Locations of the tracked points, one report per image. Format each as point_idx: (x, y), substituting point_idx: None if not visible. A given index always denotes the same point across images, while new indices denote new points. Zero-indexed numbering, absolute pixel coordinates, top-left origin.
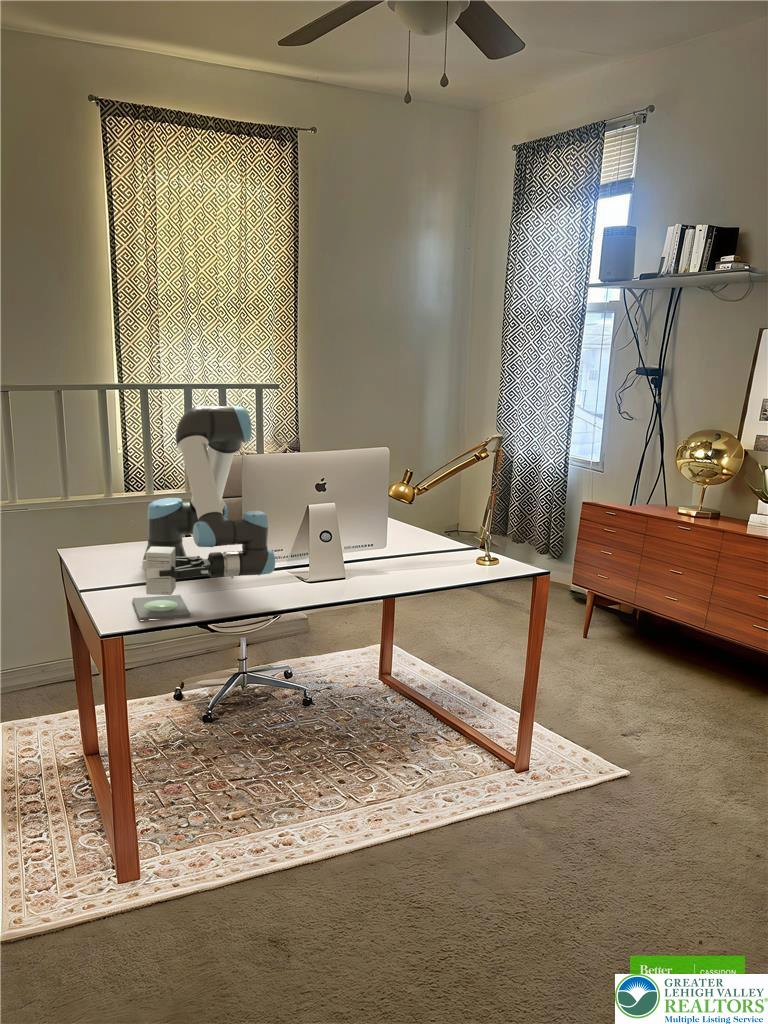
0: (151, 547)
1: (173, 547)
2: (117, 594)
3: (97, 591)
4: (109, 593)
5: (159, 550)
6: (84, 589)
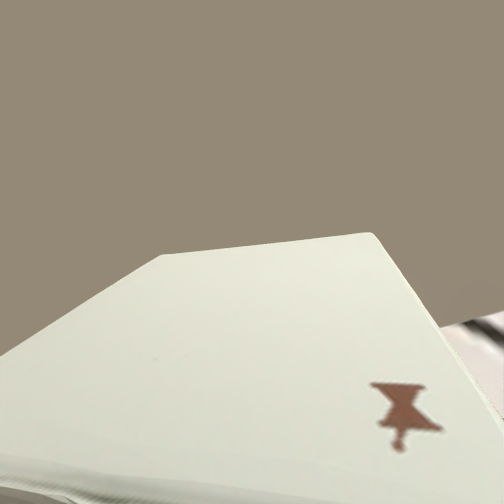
0: (327, 239)
1: (472, 480)
2: (496, 400)
3: (486, 345)
4: (489, 376)
5: (167, 291)
6: (482, 320)
